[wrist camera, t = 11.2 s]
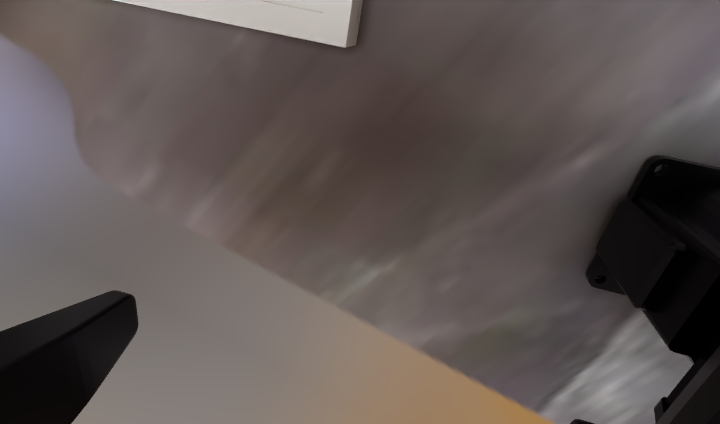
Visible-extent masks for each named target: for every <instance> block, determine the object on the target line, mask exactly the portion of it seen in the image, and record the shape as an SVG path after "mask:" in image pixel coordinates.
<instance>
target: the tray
mask: <svg viewBox="0 0 720 424" xmlns="http://www.w3.org/2000/svg"><path fill="white" fill-rule="evenodd" d="M114 1H119V2H124V3H129V4H134V5H139V6H144V7H149V8H154V9H158V10H163V11H168V12H173V13H178V14H183V15H188V16H193V17H198V18H202V19H207V20H212V21H217V22H222V23H227V24H232V25H237V26H242V27H246V28H251V29H256V30H261V31H266V32H271V33H276V34H281V35H286V36H290V37H295V38H300V39H305V40H310V41H315V42H320V43H325V44H330V45H334V46H339V47H344V48H347V47H351V46H355V45H356V42H357V36H358V29H359V23H360V16H361V10H362V3H363V0H114Z"/></svg>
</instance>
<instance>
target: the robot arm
mask: <svg viewBox="0 0 720 424" xmlns="http://www.w3.org/2000/svg"><path fill="white" fill-rule="evenodd" d="M662 164H664V169H663V170H662V171H661V172H659V173H655V169H656V167H657V166H659V165H662ZM596 251H597V254H596V255H595V257H594V259H593V261H592V263H591V265H590V267H589V268H588V270H587V273H586V278H587V280H588V282H589V283H590V285H591V286H593V287H595V288H599V289H603V290H607V291H611V292H615V293H619V294H623V295H626V296H627V297H628V298H629V300H630V301H631V303H632V304H633V306H634V307H635V308H638V309H642V311H643V312H644V314H645V315H646V316H647V318H648V319H649V321H650V322H651V324H652V325H653V326H654V328H655V329H656V331H657V332H658V334H659V335H660V337H661V338H662V339H663V341H664V342H665V344H666V345H667V347H668V348H669V349H670V350H671V351H673V352H675V353H679V354H683V355H686V356H687V357H688V358H689V360H690V361H691V362H692V364H693V366H692V367H691V368H690V370H689V371H688V372H687V373H686V375H685V376H684V377H683V378H682V380H681V381H680V382H679V383H678V385H677V386H676V387H675V388H674V390H673V391H672V392H671V393H670V395H669V396H668V397H667V398H666V397H663V398H662V399H661V400H660V401H659V402H658V404H657V405H656V406H655V408H654V412H655V420H656V424H720V168H718V167H713V166H708V165H704V164H699V163H694V162H690V161H685V160H680V159H676V158H671V157H667V156H655V157H652V158H651V159H649V160H648V161H647V162H646V163H645V164H644V166H643V168H642V170H641V172H640V174H639V176H638V177H637V179H636V181H635V183H634V185H633V187H632V189H631V190H630V192H629V194H628V196H627V198H626V199H625V200H623V201H621V202H620V203H619V205H618V207H617V209H616V211H615V213H614V215H613V216H612V218H611V220H610V222H609V224H608V226H607V228H606V230H605V231H604V233H603V235H602V237H601V239H600V241H599V243H598V245H597V247H596ZM598 275H603V276H602V277H601V278H599V279H595V277H596V276H598ZM137 329H138V316H137V308H136V300H135V298H134V296H133V295H131V294H128V293H124V292H121V291H110V292H107V293H104V294H102V295H99V296H96V297H93V298H90V299H88V300H85V301H82V302H80V303H77V304H74V305H72V306H69V307H66V308H63V309H61V310H58V311H55V312H52V313H50V314H47V315H44V316H41V317H39V318H36V319H34V320H30V321H28V322H25V323H22V324H19V325H17V326H14V327H11V328H9V329H6V330H3V331H0V424H71V423H72V422H73V421H74V419H75V418H76V417H77V416H78V414H79V413H80V412H81V411H82V410H83V408H84V407H85V406H86V405H87V403H88V402H89V401H90V399H91V398H92V397H93V395H94V394H95V392H96V391H97V390H98V388H99V387H100V385H101V383H102V382H103V381H104V379H105V378H106V376H107V375H108V374H109V372H110V371H111V369H112V368H113V366H114V365H115V363H116V362H117V360H118V359H119V358H120V356H121V355H122V353H123V352H124V350H125V349H126V347H127V346H128V344H129V343H130V341H131V340H132V339H133V337H134V335H135V333H136V331H137ZM570 424H594V423H591V422H587V421H584V420H580V419H575V420H573V421H572V422H571V423H570Z"/></svg>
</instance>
